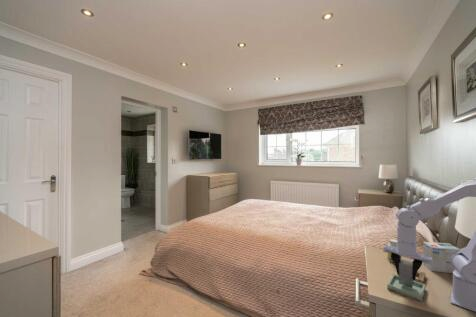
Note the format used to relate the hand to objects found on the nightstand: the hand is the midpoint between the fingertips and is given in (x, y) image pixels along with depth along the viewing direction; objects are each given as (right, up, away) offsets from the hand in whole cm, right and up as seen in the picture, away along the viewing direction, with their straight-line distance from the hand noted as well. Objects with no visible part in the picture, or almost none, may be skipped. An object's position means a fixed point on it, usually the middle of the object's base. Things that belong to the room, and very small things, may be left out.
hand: (406, 276), depth 82 cm
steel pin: (0, -3, 0) cm, 3 cm away
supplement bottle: (+11, -5, +22) cm, 25 cm away
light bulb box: (+27, -5, +14) cm, 31 cm away
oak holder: (+9, -5, +8) cm, 13 cm away
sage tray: (0, -5, 0) cm, 5 cm away
